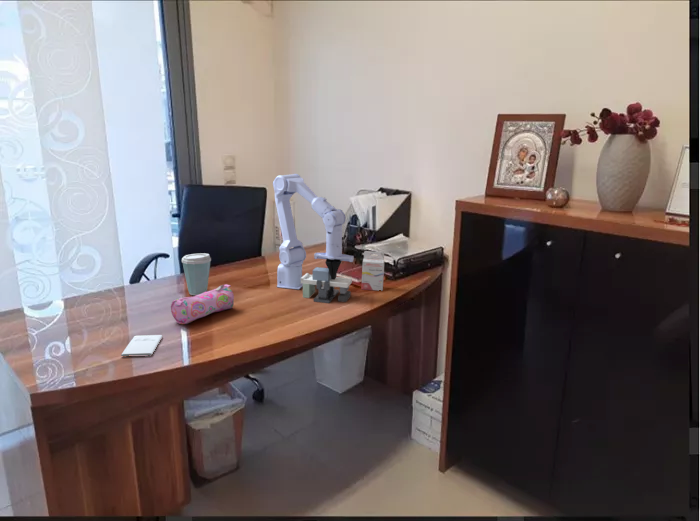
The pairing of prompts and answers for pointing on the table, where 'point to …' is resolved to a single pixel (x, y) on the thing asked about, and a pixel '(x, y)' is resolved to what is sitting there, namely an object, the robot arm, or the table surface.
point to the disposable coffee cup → (196, 272)
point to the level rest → (308, 290)
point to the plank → (338, 282)
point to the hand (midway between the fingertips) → (333, 278)
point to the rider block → (321, 274)
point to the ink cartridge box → (373, 271)
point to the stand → (325, 292)
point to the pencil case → (202, 304)
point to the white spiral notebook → (142, 345)
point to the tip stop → (344, 296)
